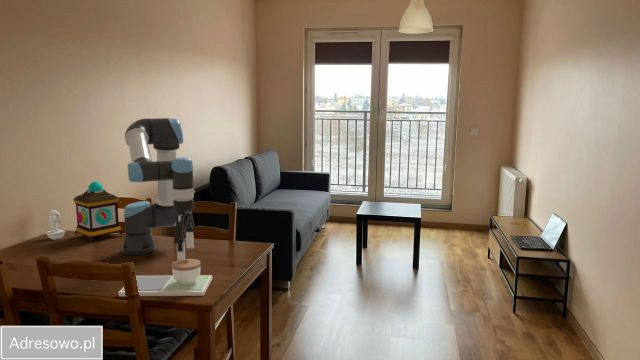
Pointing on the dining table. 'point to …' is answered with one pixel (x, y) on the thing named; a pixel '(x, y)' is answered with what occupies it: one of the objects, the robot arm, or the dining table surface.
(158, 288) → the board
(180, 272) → the lidded jar
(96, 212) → the decorative lantern
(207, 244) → the dining table surface
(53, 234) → the figurine
